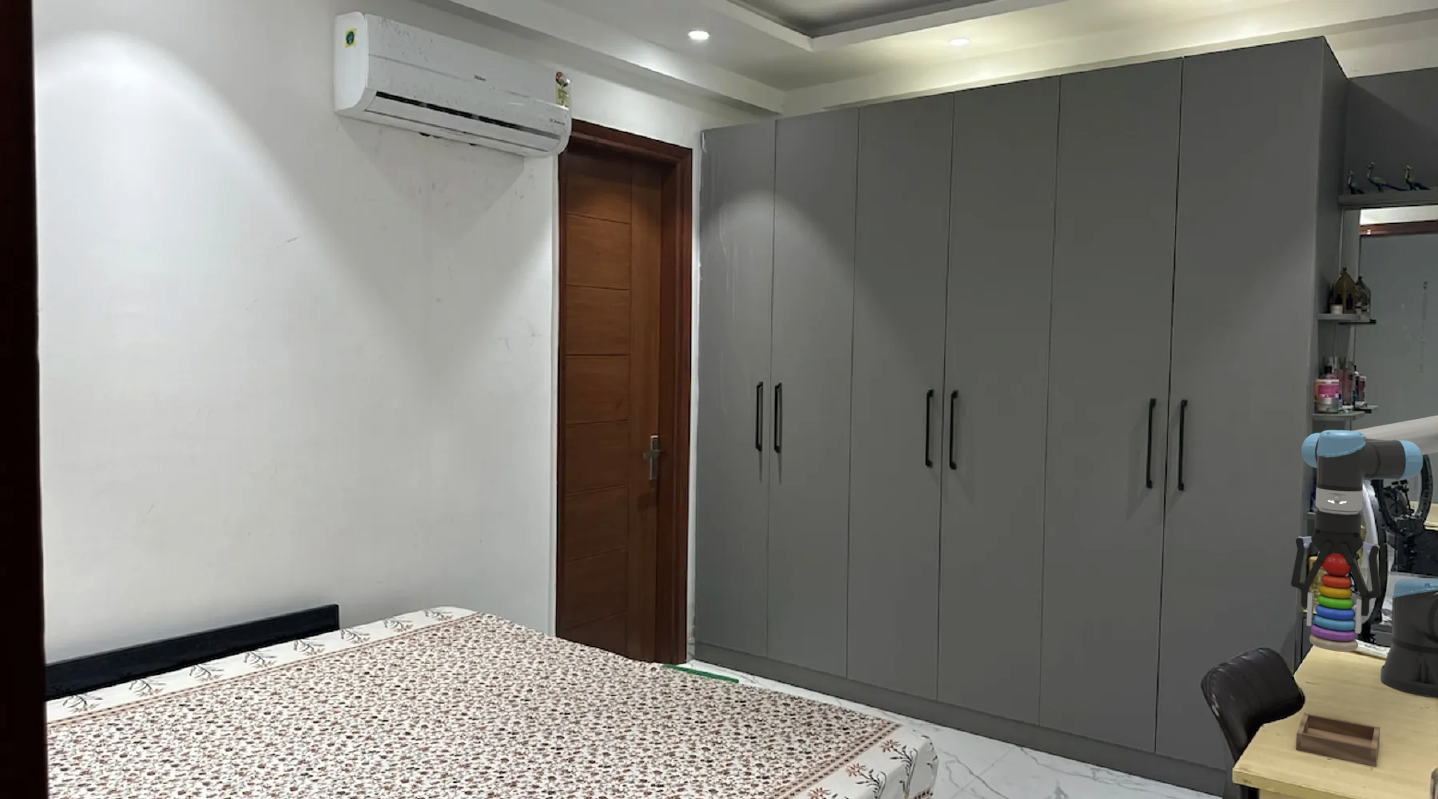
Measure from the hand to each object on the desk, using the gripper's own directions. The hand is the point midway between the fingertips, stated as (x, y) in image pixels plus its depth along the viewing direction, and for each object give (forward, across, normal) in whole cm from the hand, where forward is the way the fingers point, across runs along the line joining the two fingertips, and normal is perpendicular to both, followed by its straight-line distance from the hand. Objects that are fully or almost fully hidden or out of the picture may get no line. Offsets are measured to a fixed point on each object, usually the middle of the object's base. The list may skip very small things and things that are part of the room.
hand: (1333, 627), depth 188 cm
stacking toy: (+4, 0, 0) cm, 4 cm away
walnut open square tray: (+18, +2, -13) cm, 23 cm away
